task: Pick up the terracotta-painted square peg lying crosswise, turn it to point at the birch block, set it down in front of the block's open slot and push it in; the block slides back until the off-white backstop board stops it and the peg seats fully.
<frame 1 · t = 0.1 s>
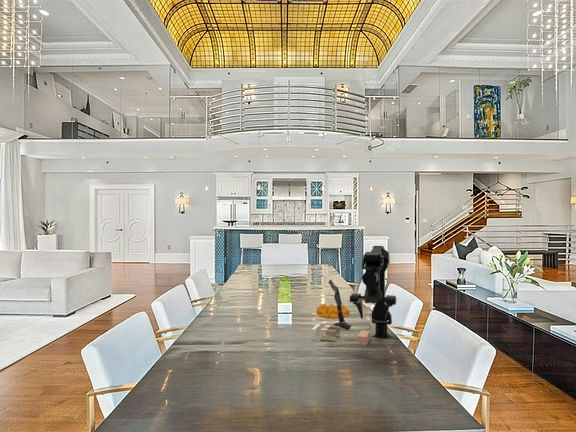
hand: (373, 319, 173), 15 cm above the table, tool pointing down, fingers open, 9 cm apart
peg: (363, 342, 190), on the table
backstop: (316, 337, 198), on the table
statue: (340, 328, 214), on the table
block: (330, 332, 196), point 3 cm above the table, slide at 0.0 cm
decorative ornament: (332, 314, 246), on the table
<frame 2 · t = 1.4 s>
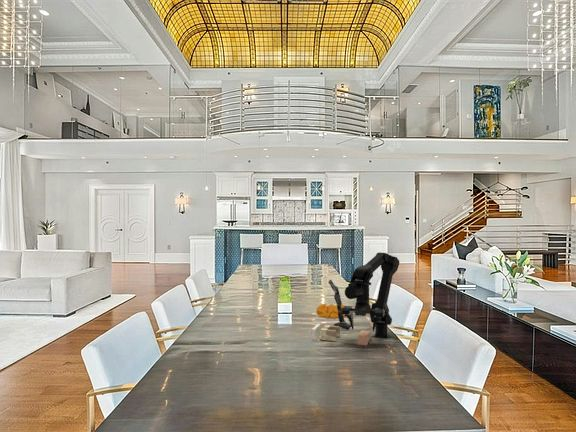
hand: (363, 330, 188), 6 cm above the table, tool pointing down, fingers open, 9 cm apart
nothing on the table moved.
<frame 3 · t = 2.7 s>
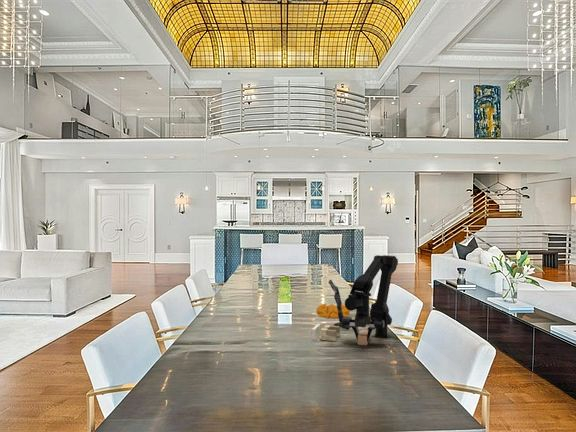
hand: (362, 341, 188), 1 cm above the table, tool pointing down, fingers closed on peg, 4 cm apart
peg: (363, 341, 190), on the table, touching gripper
everything else where it was.
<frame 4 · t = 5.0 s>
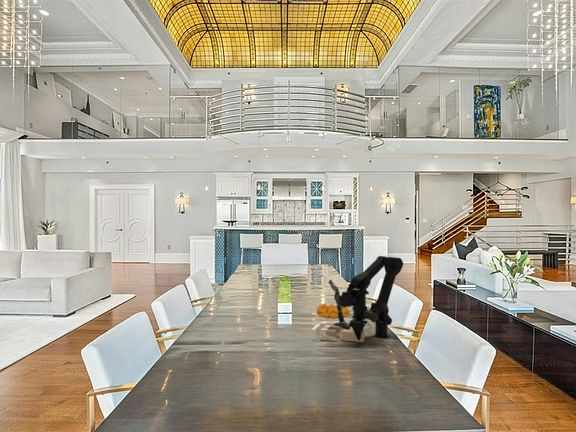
hand: (359, 338, 191), 1 cm above the table, tool pointing down, fingers closed on peg, 4 cm apart
peg: (353, 339, 192), on the table, touching gripper
everything else where it was.
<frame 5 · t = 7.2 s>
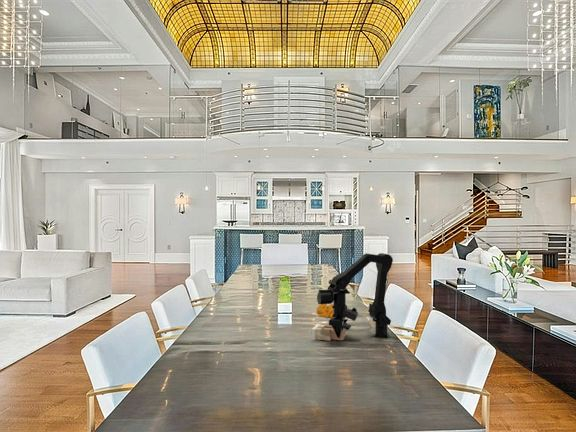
hand: (339, 336, 194), 1 cm above the table, tool pointing down, fingers closed on peg, 4 cm apart
peg: (333, 338, 195), on the table, touching block, gripper
block: (325, 332, 197), point 3 cm above the table, slide at 2.6 cm, touching backstop, peg
everything else where it was.
when the fingers open (1 cm above the table, at t = 7.6 s): peg stays where it is, on the table.
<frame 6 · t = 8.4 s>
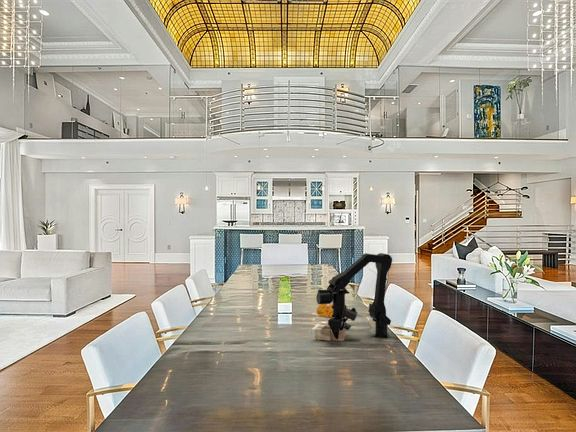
hand: (339, 336, 194), 1 cm above the table, tool pointing down, fingers open, 9 cm apart
peg: (333, 339, 195), on the table
block: (325, 332, 197), point 3 cm above the table, slide at 2.6 cm, touching backstop
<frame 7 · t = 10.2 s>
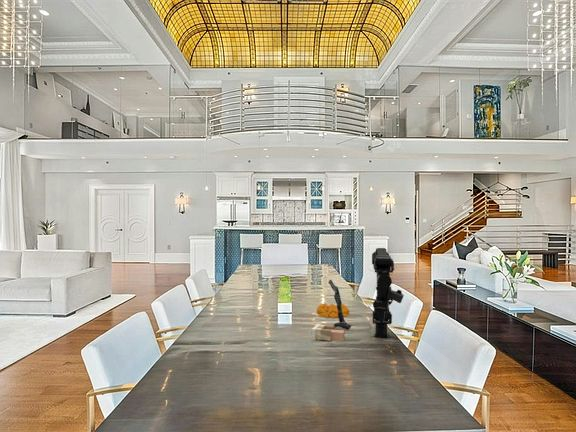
hand: (383, 320, 182), 12 cm above the table, tool pointing down, fingers open, 9 cm apart
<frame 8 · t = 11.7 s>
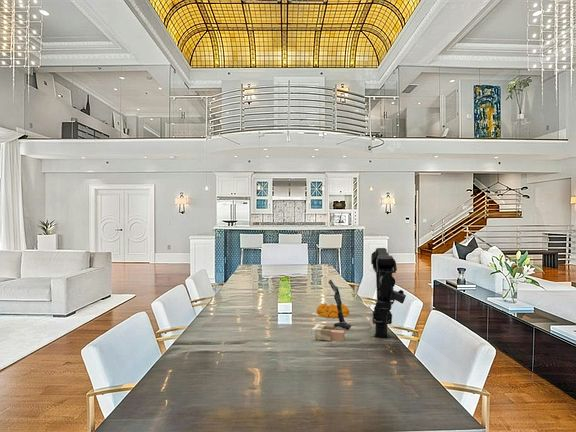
hand: (385, 320, 181), 12 cm above the table, tool pointing down, fingers open, 9 cm apart
at the end: block slide at 2.6 cm; peg 0.4 cm from the target spot on the block, point 0.0 cm above the block's base; the gripper is holding nothing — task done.
